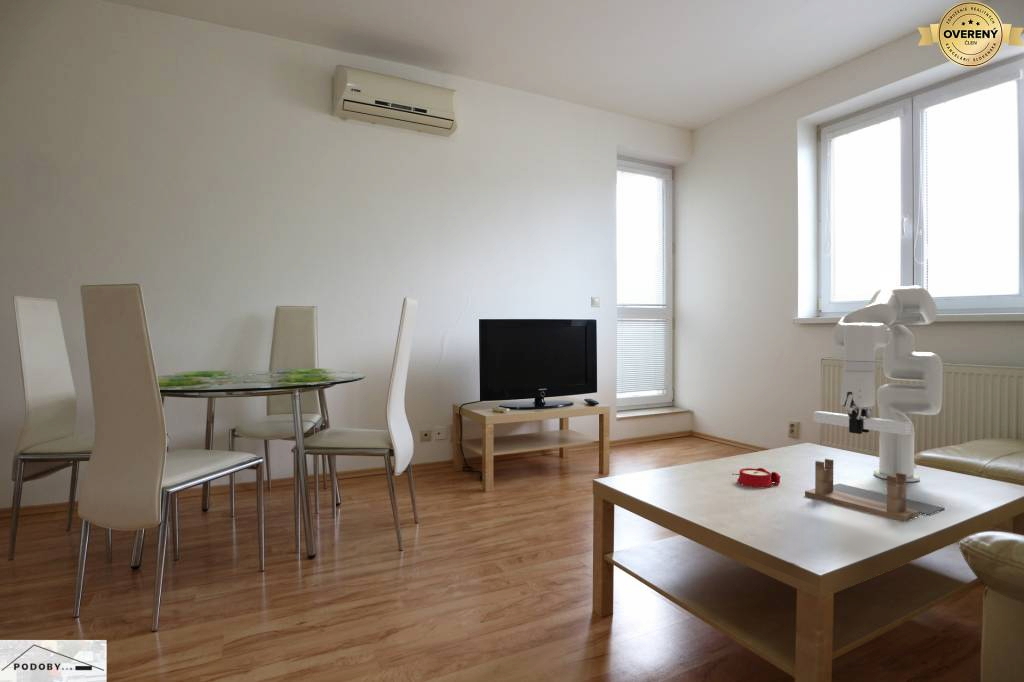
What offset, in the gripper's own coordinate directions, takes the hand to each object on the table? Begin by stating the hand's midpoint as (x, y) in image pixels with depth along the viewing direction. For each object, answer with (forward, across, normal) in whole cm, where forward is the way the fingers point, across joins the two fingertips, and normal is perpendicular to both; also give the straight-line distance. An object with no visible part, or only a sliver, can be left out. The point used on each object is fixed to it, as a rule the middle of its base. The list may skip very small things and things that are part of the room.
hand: (859, 431), depth 151 cm
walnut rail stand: (+21, 0, 0) cm, 21 cm away
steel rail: (-1, 0, 0) cm, 1 cm away
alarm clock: (+21, +3, -29) cm, 36 cm away
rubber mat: (+21, -12, 0) cm, 24 cm away
